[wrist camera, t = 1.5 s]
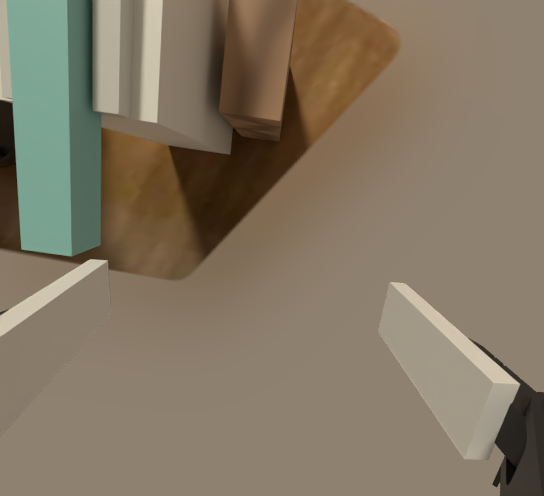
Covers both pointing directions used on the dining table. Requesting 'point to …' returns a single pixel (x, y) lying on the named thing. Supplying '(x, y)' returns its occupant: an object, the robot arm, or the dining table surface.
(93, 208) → the bar
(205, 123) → the upright white panel
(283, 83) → the brown rectangular block
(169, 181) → the dining table surface
